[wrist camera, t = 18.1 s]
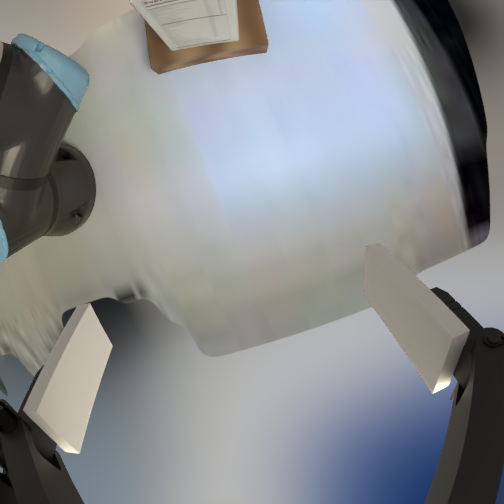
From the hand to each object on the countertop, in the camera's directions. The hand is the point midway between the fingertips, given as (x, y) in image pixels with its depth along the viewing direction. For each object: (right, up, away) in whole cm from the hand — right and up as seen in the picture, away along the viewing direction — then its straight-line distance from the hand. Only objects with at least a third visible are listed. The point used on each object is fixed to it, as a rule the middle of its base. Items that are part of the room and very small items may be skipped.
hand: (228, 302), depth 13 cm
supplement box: (-6, +34, +18) cm, 39 cm away
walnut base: (-6, +35, +21) cm, 42 cm away
